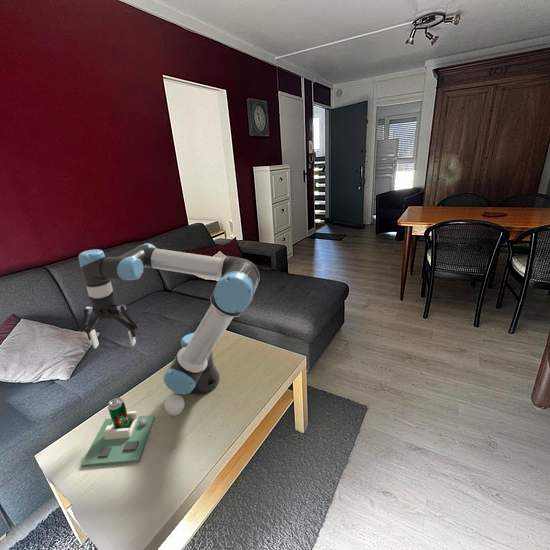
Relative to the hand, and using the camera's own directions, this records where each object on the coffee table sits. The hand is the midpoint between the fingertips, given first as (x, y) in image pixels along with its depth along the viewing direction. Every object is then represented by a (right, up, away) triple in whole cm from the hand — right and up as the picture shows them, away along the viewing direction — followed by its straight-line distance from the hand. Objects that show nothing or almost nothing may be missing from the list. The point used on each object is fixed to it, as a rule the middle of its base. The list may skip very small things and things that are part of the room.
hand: (115, 345), depth 113 cm
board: (+6, -32, -7) cm, 33 cm away
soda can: (+5, -29, -4) cm, 30 cm away
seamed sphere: (+20, -27, +4) cm, 34 cm away
